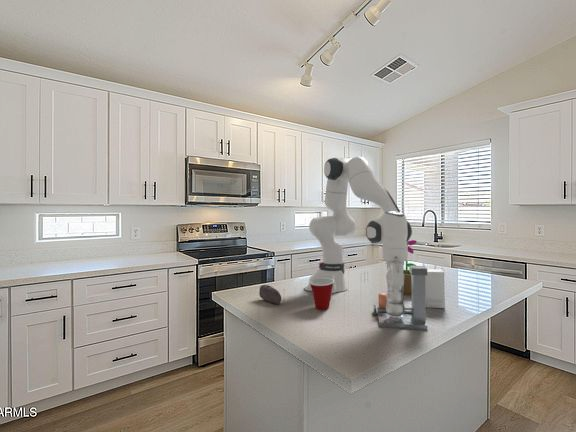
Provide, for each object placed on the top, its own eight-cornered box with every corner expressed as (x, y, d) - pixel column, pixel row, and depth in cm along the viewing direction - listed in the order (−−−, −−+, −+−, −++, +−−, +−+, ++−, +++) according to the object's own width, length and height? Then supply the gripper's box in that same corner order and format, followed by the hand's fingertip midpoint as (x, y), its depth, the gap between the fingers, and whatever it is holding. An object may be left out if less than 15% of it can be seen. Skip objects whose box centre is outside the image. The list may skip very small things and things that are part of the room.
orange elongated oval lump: (377, 311, 121) (377, 295, 121) (377, 309, 125) (377, 292, 124) (388, 312, 120) (388, 295, 120) (387, 309, 124) (387, 293, 123)
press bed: (379, 326, 109) (378, 268, 109) (377, 316, 120) (377, 263, 120) (429, 330, 105) (428, 270, 105) (423, 319, 116) (422, 264, 116)
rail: (373, 315, 121) (373, 308, 121) (373, 311, 126) (373, 305, 126) (425, 318, 117) (425, 311, 117) (423, 314, 121) (422, 308, 121)
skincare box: (442, 304, 134) (442, 269, 133) (445, 309, 127) (445, 272, 127) (422, 302, 136) (421, 268, 136) (423, 307, 130) (423, 271, 130)
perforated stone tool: (285, 305, 136) (285, 289, 136) (275, 307, 133) (275, 291, 133) (267, 297, 149) (267, 283, 148) (258, 299, 146) (258, 285, 145)
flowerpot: (416, 288, 161) (416, 232, 160) (426, 296, 146) (426, 234, 146) (389, 288, 162) (388, 232, 162) (395, 296, 148) (395, 234, 147)
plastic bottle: (382, 313, 116) (382, 260, 115) (399, 312, 116) (399, 260, 116) (390, 319, 109) (390, 263, 109) (408, 318, 110) (408, 263, 110)
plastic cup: (304, 307, 132) (303, 280, 132) (321, 302, 139) (321, 276, 139) (322, 313, 124) (322, 284, 124) (339, 308, 131) (339, 280, 131)
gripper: (408, 259, 102) (408, 300, 102) (400, 251, 121) (400, 286, 122) (388, 259, 103) (388, 299, 103) (384, 251, 123) (384, 285, 123)
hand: (395, 292), depth 113 cm, fingers closed on plastic bottle, 6 cm apart
